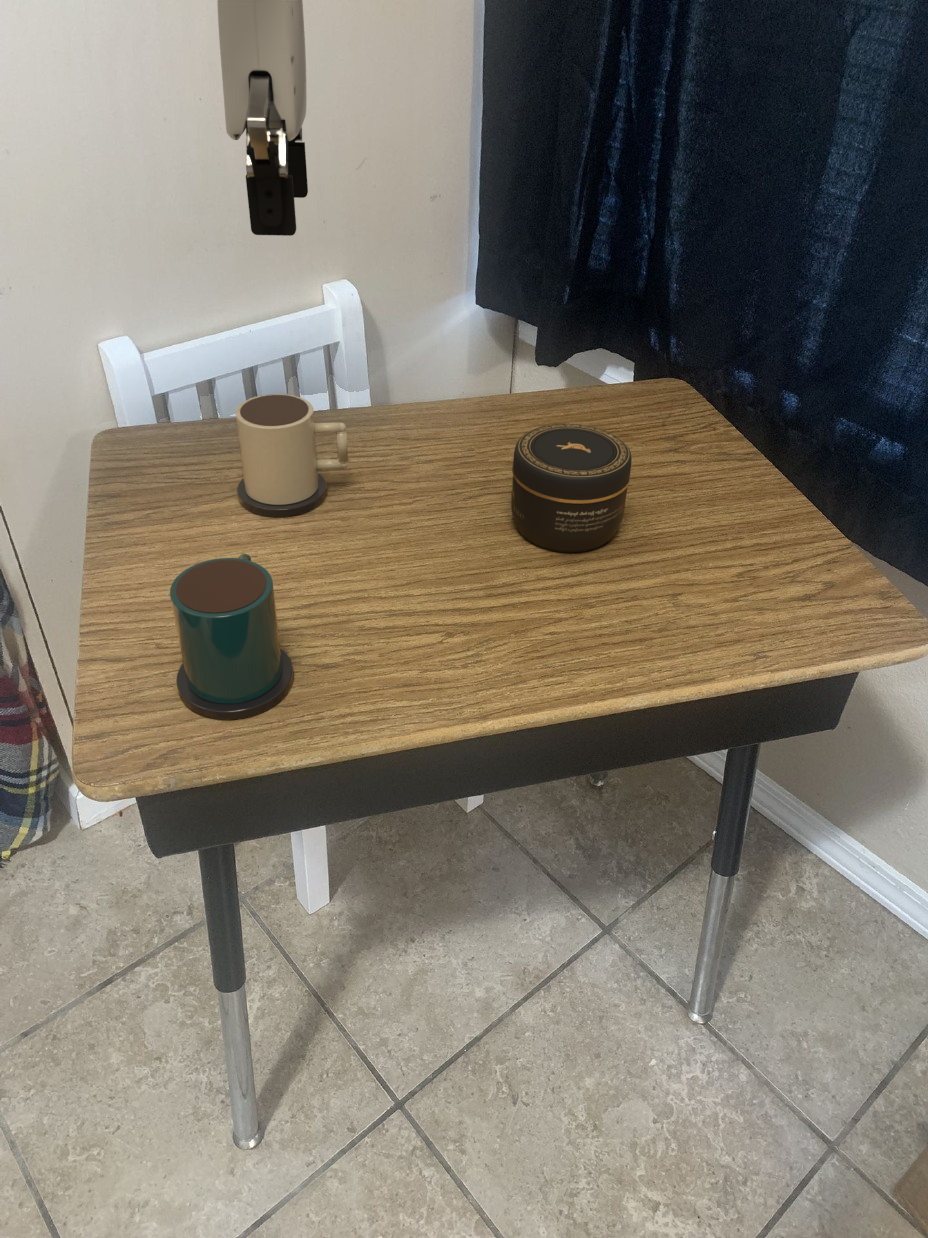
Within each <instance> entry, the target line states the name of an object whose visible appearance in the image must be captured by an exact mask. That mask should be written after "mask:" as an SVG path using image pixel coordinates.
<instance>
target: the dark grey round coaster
mask: <svg viewBox="0 0 928 1238" xmlns="http://www.w3.org/2000/svg"><path fill="white" fill-rule="evenodd" d="M318 481H319V486H318V489H317V491H316V492H315V493H314V494H313V495H312V496H311V497H309V498H307V499H305V500H303V501H300V502H297V503H293V504H287V505H270V504H264V503H261V502H258V501H255V500H254V499H252V498H251V497H249V496H248V494H247V493H246V491H245V485H244V477H242V479H240V482H239V483H238V484H237V487H236V492H237V499H238V502H239V504H240V505H241V506H242V507H243V508H244V510H246V511H248V512H251V513H252V514H255V515H257V516H262V517H268V518H289V517H296V516H300V515H303V514H306V513H308V512H311V511H313V510H315V509H317V508H318V507H319V506H321V504H322V503H323V502H324V501H325V500H326V498H327V494H328V488H327V487H328V485H327V482H326V479H325V478H324V476H323V475H322V474H321V473H320V472H318Z"/></svg>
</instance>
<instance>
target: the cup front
mask: <svg viewBox="0 0 928 1238" xmlns="http://www.w3.org/2000/svg"><path fill="white" fill-rule="evenodd" d="M273 581H274V580H273V578H272V576H271V573H269V570H267V569H266V568H265V567H264V566H262V565H261V564H259V563H256V562H254V561H252V557H251V556H250V555H249V554H248V553H242V554H240V555H239V556H238V558H237V557H220V558H213V559H208V560H204V561H201V562H198V563H196V564H194V565H191V566H190V567H187V568H186V569H184V570H183V571H181V572H180V573H179V574H178V575H177V576H176V578H174V580H173V581H172V583H171V586H170V588H169V599H170V603H171V609H172V614H173V618H174V624H175V628H176V633H177V638H178V643H179V649H180V654H181V660H182V663H183V664H184V670H185V675H186V680H187V683H188V686H189V688H190V689H191V690H192V691H193V692H194V693H195V694H196V695H197V696H199V697H200V698H202V699H204V700H207V701H210V702H214V703H221V704H235V703H242V702H246V701H250V700H252V699H255V698H257V697H260V696H261V695H263V694H265V693H266V692H268V691H269V690H270V689H272V688H273V687H274V686H275V684H276V683H277V682H278V680H279V679H280V676H281V674H282V659H281V650H280V648H281V642H280V636H279V635H280V633H279V625H278V615H277V607H276V598H275V597H276V596H275V590H274V589H275V588H274V582H273Z"/></svg>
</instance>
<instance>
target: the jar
mask: <svg viewBox="0 0 928 1238" xmlns="http://www.w3.org/2000/svg"><path fill="white" fill-rule="evenodd" d="M632 458H633V457H632V453H631V450H630V447H629V446H628V445H627V443H625V442H624V440H622V439H621V438H620V437H619V436H617V435H616V434H614V433H611V432H609V431H607V430H605V429H602V428H600V427H595V426H592V425H586V424H581V423H552V424H546V425H542V426H538V427H536V428H532V429H530V430H529V431H526V433H524V434H523V435H521V437H519V439H518V440H517V442H516V443H515V447H514V451H513V458H512V459H513V460H512V467H511V472H512V481H511V497H510V498H511V499H510V507H511V509H510V510H511V514H512V518H513V522H514V524H515V528H516V529H517V531H518V532H519V533H520V534H521V535H522V536H523V538H525V539H526V540H527V541H528V542H530V543H532V544H534V545H535V546H537V547H540V548H541V549H546V550H548V551H553V552H559V553H582V552H583V553H584V552H589V551H592V550H595V549H598V548H600V547H602V546H604V545H605V544H606V543H608V542H610V540H611V539H612V538H614V536H615V535H616V533H617V531H618V529H619V527H620V525H621V523H622V521H623V518H624V513H625V507H626V499H627V493H628V487H629V484H630V482H631V477H632V473H631V470H632Z"/></svg>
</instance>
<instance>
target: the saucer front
mask: <svg viewBox="0 0 928 1238" xmlns="http://www.w3.org/2000/svg"><path fill="white" fill-rule="evenodd" d="M280 650H281V659H282V674H281V676H280V679H279V680H278V682H277V683H276V684H275V686H274V687H273V688H272V689H270V690H269V691H268V692H266V693H265V694H263V695H261V696H260V697H257V698H255V699H252V700H250V701H246V702H242V703H235V704H221V703H214V702H210V701H207V700H204V699H202V698H200V697H199V696H197V695H196V694H195V693H194V692H193V691H192V690H191V689H190V688H189V686H188V683H187V680H186V675H185V670H184V664H183V662H182V663H181V665H180V667H179V668H178V671H177V674H176V678H175V679H176V688H177V692H178V696H179V698H180V700H181V702H182V703H183V705H185V707H187V708H188V709H189V710H190V711H192V712H193V713H195V714H197V715H199V716H202V717H204V718H208V719H213V720H219V721H221V720H222V721H233V720H243V719H248V718H252V717H254V716H258V715H260V714H262V713H265V712H267V711H268V710H271V709H272V708H273V707H275V706H276V705H278V704H279V703H281V701H282V700H283V699H284V698H285V697H286V696H287V695H288V693H289V691H290V690H291V688H292V686H293V682H294V668H293V663H292V660H291V658H290V656H289V655H288V654H287V651H285V650H284V649H283V648H282V647H280Z"/></svg>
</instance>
